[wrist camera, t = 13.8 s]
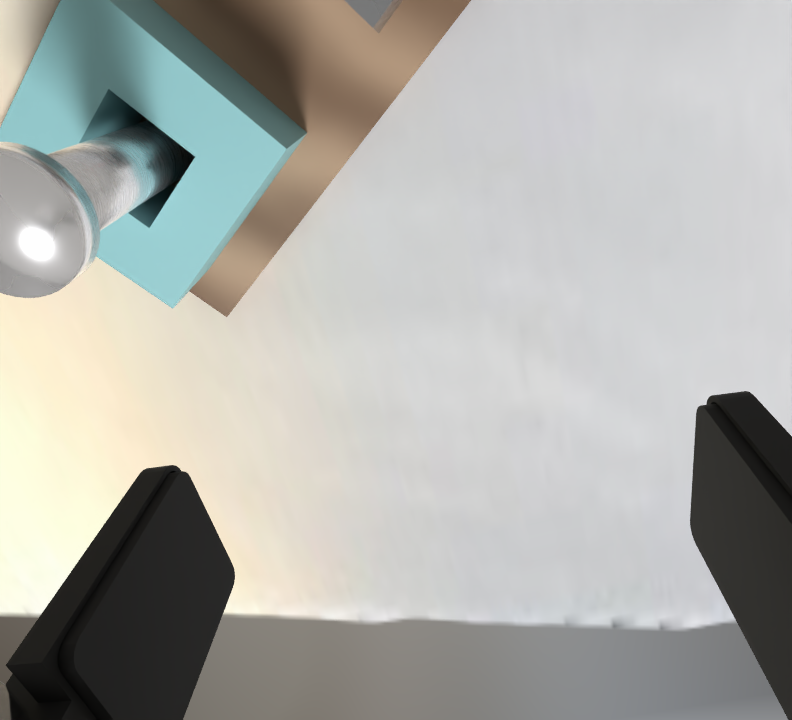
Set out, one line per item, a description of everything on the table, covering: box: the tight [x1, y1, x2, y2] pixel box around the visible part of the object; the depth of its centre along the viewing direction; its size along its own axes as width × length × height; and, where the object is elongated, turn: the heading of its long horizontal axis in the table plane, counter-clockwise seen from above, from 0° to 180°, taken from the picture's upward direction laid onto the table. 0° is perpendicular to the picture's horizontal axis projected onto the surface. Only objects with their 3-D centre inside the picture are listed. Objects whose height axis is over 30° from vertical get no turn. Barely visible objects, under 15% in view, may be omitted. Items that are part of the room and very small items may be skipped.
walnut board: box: [140, 0, 471, 317], centre depth 28 cm, size 30×15×2 cm, turn 140°
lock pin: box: [0, 120, 195, 298], centre depth 24 cm, size 5×5×15 cm
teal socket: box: [0, 0, 307, 308], centre depth 28 cm, size 10×10×6 cm
